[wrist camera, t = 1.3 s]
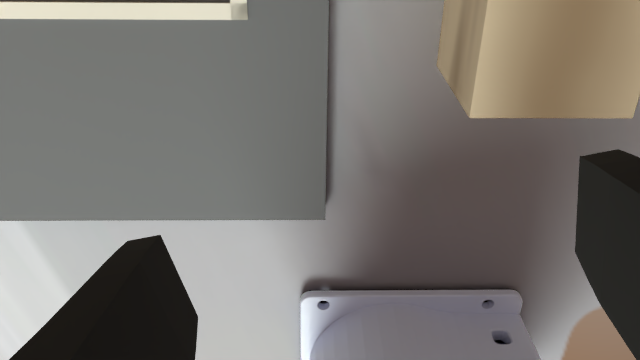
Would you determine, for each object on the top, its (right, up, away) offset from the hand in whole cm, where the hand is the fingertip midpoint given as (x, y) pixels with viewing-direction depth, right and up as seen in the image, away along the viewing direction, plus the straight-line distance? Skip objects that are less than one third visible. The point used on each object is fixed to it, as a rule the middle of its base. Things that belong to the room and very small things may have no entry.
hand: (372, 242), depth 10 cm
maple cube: (+5, +7, +8) cm, 12 cm away
